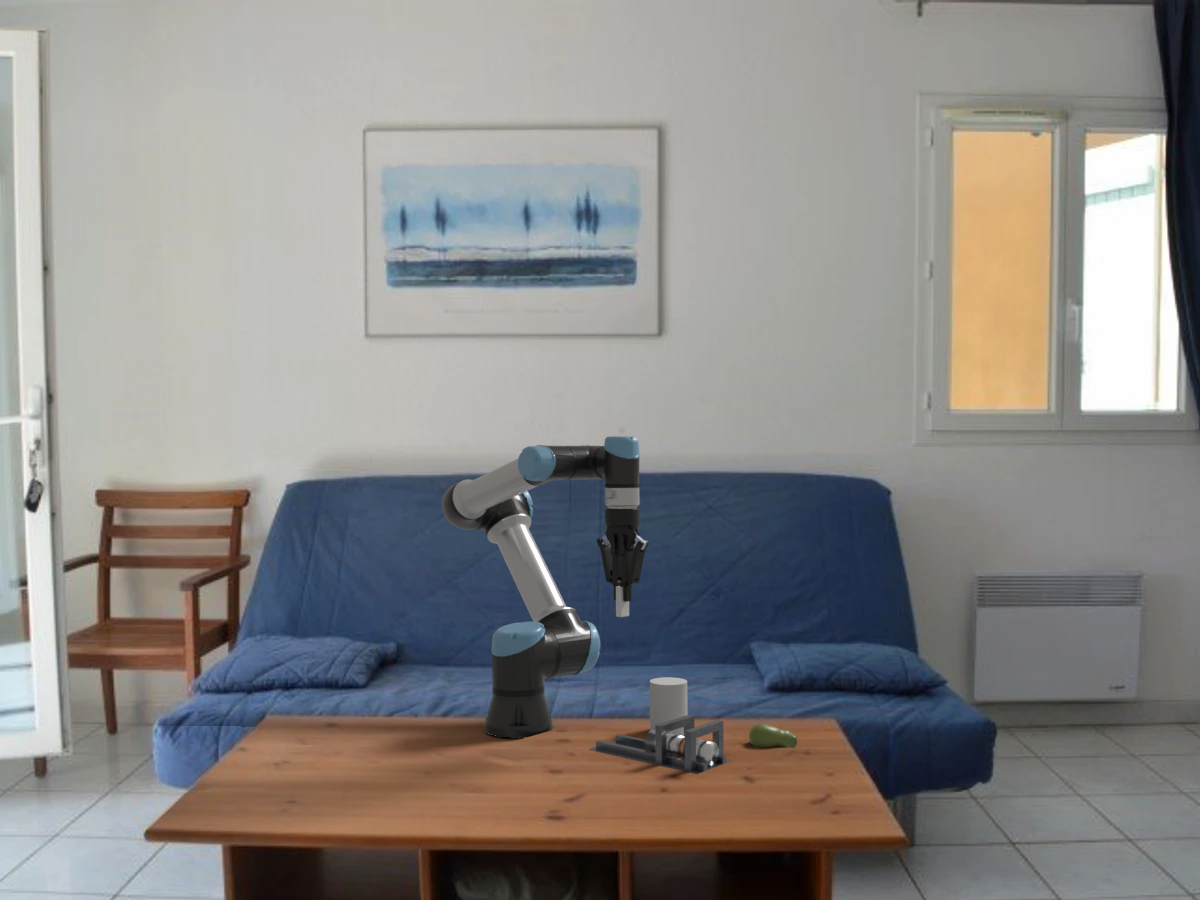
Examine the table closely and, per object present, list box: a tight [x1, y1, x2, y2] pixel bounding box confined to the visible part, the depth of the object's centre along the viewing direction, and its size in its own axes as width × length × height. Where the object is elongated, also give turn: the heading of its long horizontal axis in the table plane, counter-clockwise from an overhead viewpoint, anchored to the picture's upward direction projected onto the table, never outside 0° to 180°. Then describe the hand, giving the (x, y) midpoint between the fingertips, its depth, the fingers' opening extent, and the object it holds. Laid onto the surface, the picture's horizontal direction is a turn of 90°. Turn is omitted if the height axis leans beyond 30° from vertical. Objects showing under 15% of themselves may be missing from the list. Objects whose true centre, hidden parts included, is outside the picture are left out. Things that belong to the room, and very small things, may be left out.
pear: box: [748, 723, 798, 749], centre depth 227 cm, size 6×5×10 cm
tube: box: [644, 730, 719, 766], centre depth 216 cm, size 15×4×4 cm, turn 50°
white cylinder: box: [649, 676, 688, 736], centre depth 238 cm, size 8×8×12 cm
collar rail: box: [588, 714, 733, 775], centre depth 219 cm, size 27×12×8 cm, turn 50°
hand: (622, 616), depth 237 cm, fingers closed
